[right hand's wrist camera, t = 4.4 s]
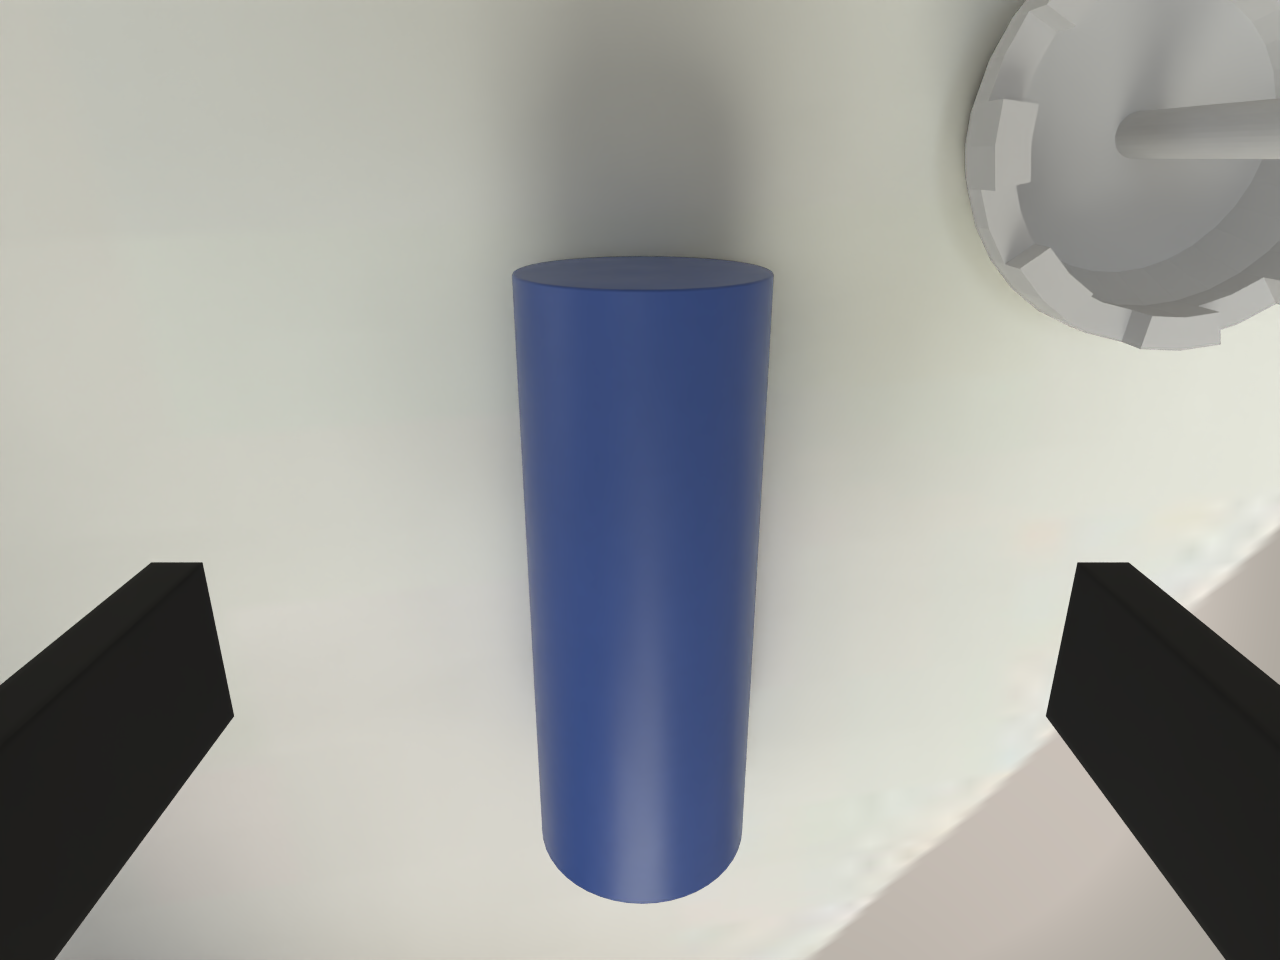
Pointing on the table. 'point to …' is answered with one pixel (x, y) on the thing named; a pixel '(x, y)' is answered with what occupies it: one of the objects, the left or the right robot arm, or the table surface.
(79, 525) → the table surface
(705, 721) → the rod
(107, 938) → the table surface
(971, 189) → the flag stand
